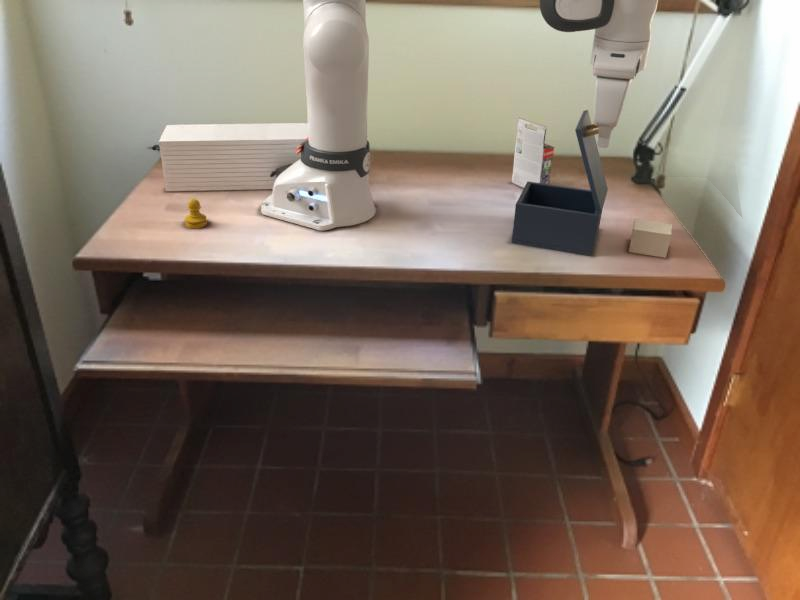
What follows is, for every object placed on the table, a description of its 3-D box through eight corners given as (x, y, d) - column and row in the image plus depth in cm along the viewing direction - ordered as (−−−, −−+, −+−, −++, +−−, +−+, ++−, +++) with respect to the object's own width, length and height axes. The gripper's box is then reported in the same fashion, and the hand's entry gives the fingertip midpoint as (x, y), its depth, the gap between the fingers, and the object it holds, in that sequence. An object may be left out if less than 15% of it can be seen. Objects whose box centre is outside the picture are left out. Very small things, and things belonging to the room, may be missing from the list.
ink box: (522, 179, 165) (529, 114, 158) (549, 191, 160) (558, 123, 153) (510, 183, 163) (517, 117, 156) (538, 195, 158) (546, 127, 151)
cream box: (628, 252, 136) (633, 229, 134) (630, 241, 140) (635, 218, 137) (666, 258, 134) (671, 234, 132) (666, 246, 138) (672, 224, 136)
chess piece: (211, 221, 143) (208, 197, 141) (199, 229, 140) (196, 205, 137) (193, 218, 144) (190, 194, 142) (181, 226, 141) (177, 201, 139)
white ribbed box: (166, 191, 155) (158, 141, 150) (173, 172, 164) (166, 124, 159) (321, 188, 159) (319, 138, 153) (320, 170, 168) (318, 122, 162)
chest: (511, 243, 138) (515, 203, 134) (523, 218, 148) (527, 181, 144) (592, 256, 134) (598, 216, 130) (598, 230, 144) (605, 192, 140)
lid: (575, 129, 124) (602, 122, 122) (583, 110, 134) (609, 103, 132) (597, 214, 130) (623, 208, 128) (603, 190, 140) (628, 184, 138)
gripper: (605, 40, 131) (593, 118, 139) (592, 66, 115) (579, 153, 122) (642, 44, 130) (628, 122, 137) (635, 71, 113) (619, 159, 120)
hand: (605, 137), depth 129 cm, fingers open, 8 cm apart
